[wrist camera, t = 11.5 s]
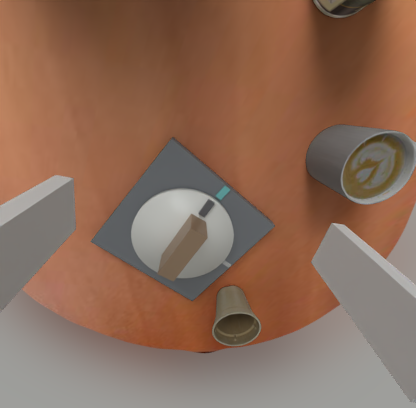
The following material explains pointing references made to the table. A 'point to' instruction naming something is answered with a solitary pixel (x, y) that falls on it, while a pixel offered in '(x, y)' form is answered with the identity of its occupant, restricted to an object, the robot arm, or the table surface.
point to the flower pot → (234, 318)
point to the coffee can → (341, 7)
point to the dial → (182, 233)
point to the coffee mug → (362, 161)
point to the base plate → (193, 179)
